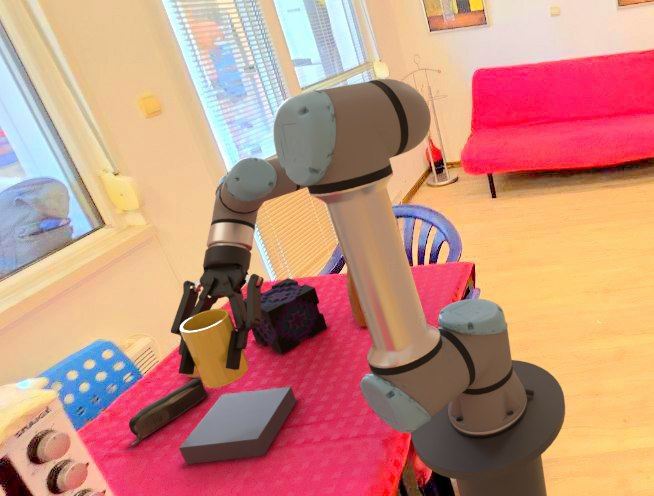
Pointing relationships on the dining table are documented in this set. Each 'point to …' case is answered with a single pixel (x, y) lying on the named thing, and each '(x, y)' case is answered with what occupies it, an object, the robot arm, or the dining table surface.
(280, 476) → the dining table surface
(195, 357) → the yellow cup
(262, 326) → the energy cube
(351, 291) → the coffee package
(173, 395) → the dark pencil case
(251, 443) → the grey block
